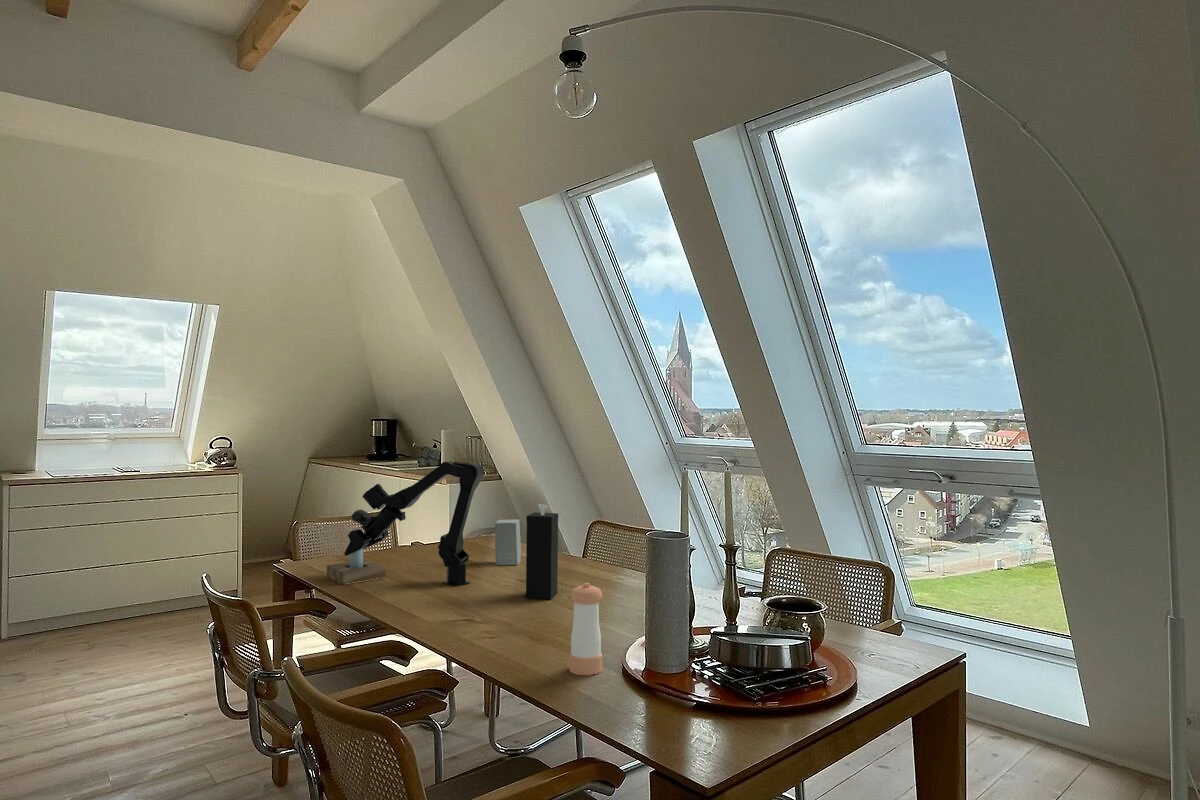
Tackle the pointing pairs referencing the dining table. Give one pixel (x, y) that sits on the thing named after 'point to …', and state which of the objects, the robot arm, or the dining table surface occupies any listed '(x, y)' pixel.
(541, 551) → the tissue box
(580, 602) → the salt shaker
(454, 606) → the dining table surface
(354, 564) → the peg
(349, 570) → the socket block
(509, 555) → the skincare box
